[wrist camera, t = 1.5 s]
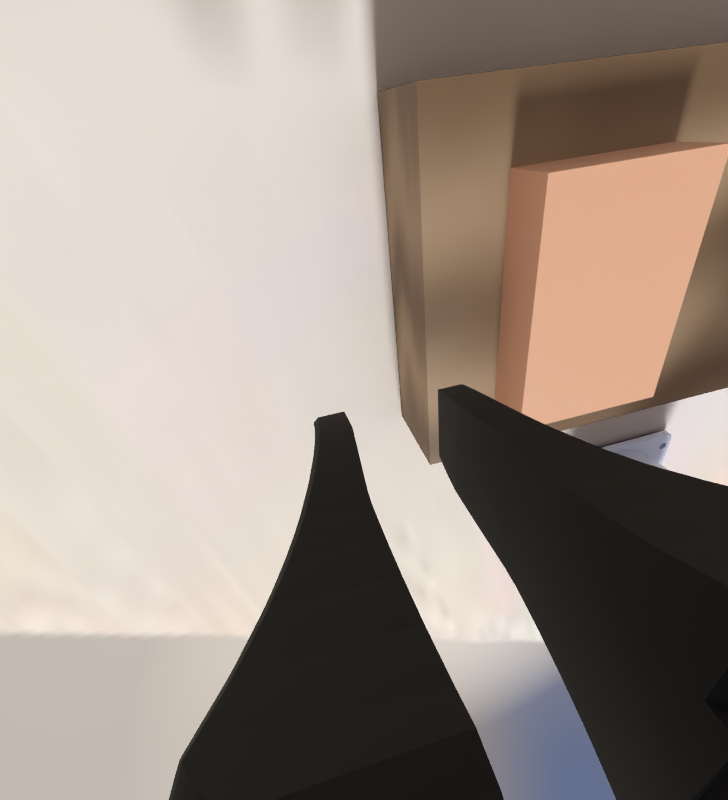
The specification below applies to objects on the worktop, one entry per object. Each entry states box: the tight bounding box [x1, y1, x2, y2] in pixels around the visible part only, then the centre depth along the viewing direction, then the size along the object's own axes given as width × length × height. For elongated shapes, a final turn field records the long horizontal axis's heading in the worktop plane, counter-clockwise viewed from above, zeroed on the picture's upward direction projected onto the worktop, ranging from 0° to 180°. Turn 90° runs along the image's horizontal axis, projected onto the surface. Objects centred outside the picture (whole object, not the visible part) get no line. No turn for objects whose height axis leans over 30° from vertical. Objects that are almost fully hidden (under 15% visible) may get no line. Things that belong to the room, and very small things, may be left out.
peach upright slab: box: [495, 142, 728, 424], centre depth 16 cm, size 9×6×2 cm, turn 6°
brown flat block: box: [377, 42, 728, 465], centre depth 18 cm, size 14×16×4 cm
